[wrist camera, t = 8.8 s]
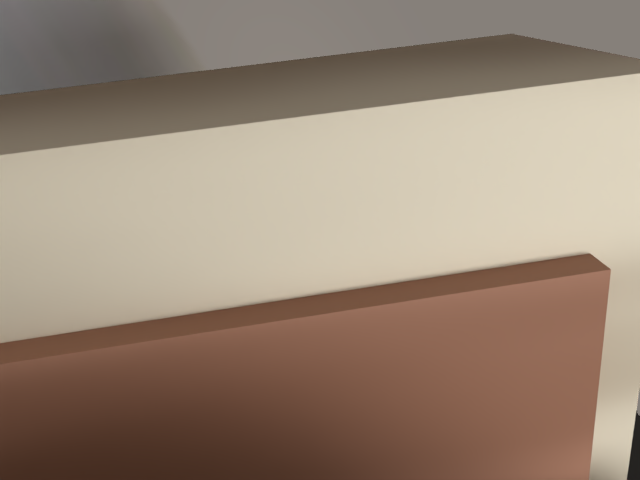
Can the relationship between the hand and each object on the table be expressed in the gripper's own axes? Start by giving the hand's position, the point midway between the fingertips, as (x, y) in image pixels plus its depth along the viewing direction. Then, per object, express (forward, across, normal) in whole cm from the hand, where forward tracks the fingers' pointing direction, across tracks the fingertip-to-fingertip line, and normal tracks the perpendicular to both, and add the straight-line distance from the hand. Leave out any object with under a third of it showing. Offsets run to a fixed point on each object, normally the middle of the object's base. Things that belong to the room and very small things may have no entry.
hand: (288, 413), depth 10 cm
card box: (-2, 0, +6) cm, 7 cm away
